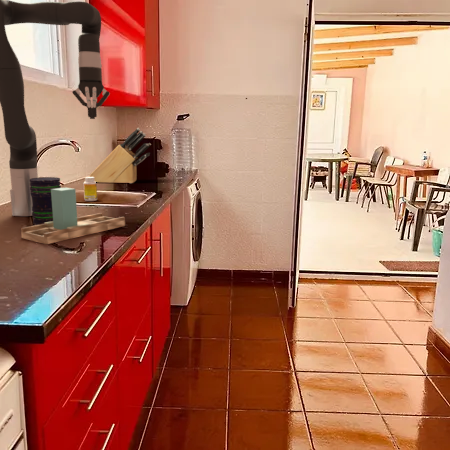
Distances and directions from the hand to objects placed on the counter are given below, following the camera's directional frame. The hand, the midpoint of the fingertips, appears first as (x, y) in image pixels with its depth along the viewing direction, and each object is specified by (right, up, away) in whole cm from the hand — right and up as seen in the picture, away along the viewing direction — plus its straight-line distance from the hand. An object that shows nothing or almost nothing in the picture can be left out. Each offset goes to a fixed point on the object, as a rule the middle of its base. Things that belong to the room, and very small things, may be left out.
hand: (92, 118), depth 162 cm
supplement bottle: (-13, -26, +43) cm, 52 cm away
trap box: (-1, -39, -16) cm, 42 cm away
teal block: (-3, -38, -20) cm, 43 cm away
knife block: (-14, -13, +106) cm, 107 cm away
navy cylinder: (-15, -36, -2) cm, 39 cm away
